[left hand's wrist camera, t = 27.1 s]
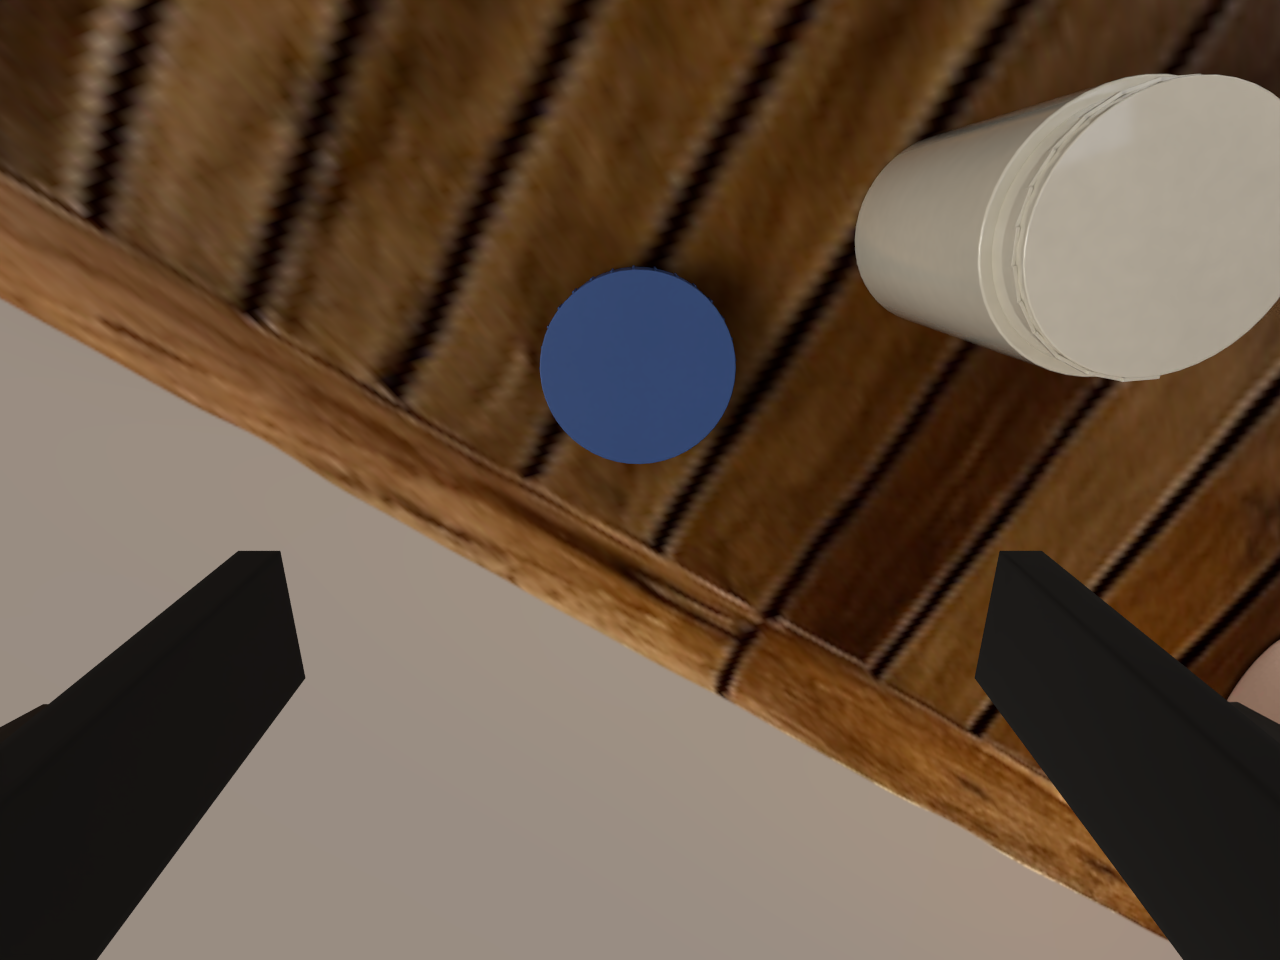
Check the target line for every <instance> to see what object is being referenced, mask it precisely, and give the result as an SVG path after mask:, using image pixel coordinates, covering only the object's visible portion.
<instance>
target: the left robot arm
mask: <svg viewBox="0 0 1280 960" xmlns="http://www.w3.org/2000/svg"><path fill="white" fill-rule="evenodd" d="M304 679H305V674H304V669H303V664H302V659H301V654H300V649H299V644H298V638H297V634H296V628H295V623H294V618H293V613H292V608H291V603H290V598H289V593H288V588H287V583H286V578H285V573H284V567H283V562H282V557H281V552H280V551H238V552H236V553H235V554H234V555H233V556H231V557H230V558H229V559H228V560H227V561H225V562H224V563H223V564H222V565H220V566H219V567H218V568H217V569H215V570H214V571H213V572H212V573H210V574H209V575H208V576H207V577H205V578H204V579H203V580H202V581H201V582H199V583H198V584H197V585H196V586H194V587H193V588H192V589H191V590H189V591H188V592H187V593H186V594H185V595H183V596H182V597H181V598H179V599H178V600H177V601H176V602H175V603H173V604H172V605H171V606H170V607H168V608H167V609H166V610H165V611H163V612H162V613H161V614H160V615H158V616H157V617H156V618H155V619H154V620H152V621H151V622H150V623H149V624H147V625H146V626H145V627H144V628H142V629H141V630H140V631H139V632H137V633H136V634H135V635H134V636H132V637H131V638H130V639H129V640H128V641H126V642H125V643H124V644H123V645H121V646H120V647H119V648H118V649H116V650H115V651H114V652H113V653H111V654H110V655H109V656H108V657H107V658H105V659H104V660H103V661H102V662H100V663H99V664H98V665H97V666H95V667H94V668H93V669H92V670H90V671H89V672H88V673H87V674H86V675H84V676H83V677H82V678H81V679H79V680H78V681H77V682H76V683H74V684H73V685H72V686H71V687H69V688H68V689H67V690H66V691H65V692H63V693H62V694H61V695H60V696H58V697H57V698H56V699H55V700H53V701H52V702H51V703H50V704H43V705H41V706H39V707H37V708H35V709H34V710H32V711H30V712H28V713H26V714H24V715H22V716H20V717H19V718H17V719H15V720H13V721H11V722H9V723H7V724H6V725H4V726H2V727H0V960H97V959H98V957H99V956H100V955H101V953H102V952H103V951H104V949H105V948H106V947H107V945H108V944H109V942H110V941H111V940H112V938H113V937H114V936H115V934H116V933H117V932H118V930H119V929H120V928H121V926H122V925H123V924H124V922H125V921H126V920H127V918H128V917H129V915H130V914H131V913H132V911H133V910H134V909H135V907H136V906H137V905H138V903H139V902H140V901H141V899H142V898H143V897H144V895H145V894H146V893H147V891H148V890H149V888H150V887H151V886H152V884H153V883H154V882H155V880H156V879H157V878H158V876H159V875H160V874H161V872H162V871H163V870H164V868H165V867H166V866H167V864H168V863H169V861H170V860H171V859H172V857H173V856H174V855H175V853H176V852H177V851H178V849H179V848H180V847H181V845H182V844H183V843H184V841H185V840H186V839H187V837H188V836H189V834H190V833H191V832H192V830H193V829H194V828H195V826H196V825H197V824H198V822H199V821H200V820H201V818H202V817H203V815H204V814H205V813H206V812H207V810H208V809H209V807H210V806H211V805H212V803H213V802H214V801H215V799H216V798H217V797H218V795H219V794H220V793H221V791H222V790H223V789H224V787H225V786H226V784H227V783H228V782H229V780H230V779H231V778H232V776H233V775H234V774H235V772H236V771H237V770H238V768H239V767H240V766H241V764H242V763H243V762H244V760H245V759H246V757H247V756H248V755H249V753H250V752H251V751H252V749H253V748H254V747H255V745H256V744H257V743H258V741H259V740H260V739H261V737H262V736H263V735H264V733H265V732H266V730H267V729H268V728H269V726H270V725H271V724H272V722H273V721H274V720H275V718H276V717H277V716H278V714H279V713H280V712H281V710H282V709H283V708H284V706H285V705H286V703H287V702H288V701H289V699H290V698H291V697H292V695H293V694H294V693H295V691H296V690H297V689H298V687H299V686H300V685H301V683H302V682H303V680H304ZM975 679H976V681H977V682H978V683H979V685H980V686H981V687H982V689H983V690H984V691H985V693H986V694H987V695H988V697H989V698H990V699H991V701H992V702H993V703H994V705H995V706H996V708H997V709H998V710H999V712H1000V713H1001V714H1002V716H1003V717H1004V718H1005V720H1006V721H1007V722H1008V724H1009V725H1010V726H1011V728H1012V729H1013V730H1014V732H1015V733H1016V735H1017V736H1018V737H1019V739H1020V740H1021V741H1022V743H1023V744H1024V745H1025V747H1026V748H1027V749H1028V751H1029V752H1030V753H1031V755H1032V756H1033V757H1034V759H1035V760H1036V762H1037V763H1038V764H1039V766H1040V767H1041V768H1042V770H1043V771H1044V772H1045V774H1046V775H1047V776H1048V778H1049V779H1050V780H1051V782H1052V783H1053V785H1054V786H1055V787H1056V789H1057V790H1058V791H1059V793H1060V794H1061V795H1062V797H1063V798H1064V799H1065V801H1066V802H1067V803H1068V805H1069V806H1070V807H1071V809H1072V810H1073V812H1074V813H1075V814H1076V816H1077V817H1078V818H1079V820H1080V821H1081V822H1082V824H1083V825H1084V826H1085V828H1086V829H1087V830H1088V832H1089V833H1090V834H1091V836H1092V837H1093V839H1094V840H1095V841H1096V843H1097V844H1098V845H1099V847H1100V848H1101V849H1102V851H1103V852H1104V853H1105V855H1106V856H1107V857H1108V859H1109V860H1110V861H1111V863H1112V864H1113V866H1114V867H1115V868H1116V870H1117V871H1118V872H1119V874H1120V875H1121V876H1122V878H1123V879H1124V880H1125V882H1126V883H1127V884H1128V886H1129V887H1130V888H1131V890H1132V891H1133V893H1134V894H1135V895H1136V897H1137V898H1138V899H1139V901H1140V902H1141V903H1142V905H1143V906H1144V907H1145V909H1146V910H1147V911H1148V913H1149V914H1150V916H1151V917H1152V918H1153V920H1154V921H1155V922H1156V924H1157V925H1158V926H1159V928H1160V929H1161V930H1162V932H1163V933H1164V934H1165V936H1166V937H1167V938H1168V940H1169V941H1170V943H1171V944H1172V945H1173V947H1174V948H1175V949H1176V951H1177V952H1178V953H1179V955H1180V956H1181V957H1182V959H1183V960H1280V724H1278V723H1276V722H1275V721H1273V720H1271V719H1269V718H1267V717H1265V716H1263V715H1261V714H1260V713H1258V712H1256V711H1254V710H1252V709H1250V708H1248V707H1246V706H1244V705H1243V704H1241V703H1239V702H1228V701H1227V700H1225V699H1224V698H1223V697H1222V696H1220V695H1219V694H1218V693H1217V692H1216V691H1214V690H1213V689H1212V688H1211V687H1209V686H1208V685H1207V684H1206V683H1204V682H1203V681H1202V680H1201V679H1199V678H1198V677H1197V676H1196V675H1194V674H1193V673H1192V672H1191V671H1190V670H1188V669H1187V668H1186V667H1185V666H1183V665H1182V664H1181V663H1180V662H1178V661H1177V660H1176V659H1175V658H1173V657H1172V656H1171V655H1170V654H1169V653H1167V652H1166V651H1165V650H1164V649H1162V648H1161V647H1160V646H1159V645H1157V644H1156V643H1155V642H1154V641H1152V640H1151V639H1150V638H1149V637H1148V636H1146V635H1145V634H1144V633H1143V632H1141V631H1140V630H1139V629H1138V628H1136V627H1135V626H1134V625H1133V624H1131V623H1130V622H1129V621H1128V620H1126V619H1125V618H1124V617H1123V616H1122V615H1120V614H1119V613H1118V612H1117V611H1115V610H1114V609H1113V608H1112V607H1110V606H1109V605H1108V604H1107V603H1105V602H1104V601H1103V600H1102V599H1101V598H1099V597H1098V596H1097V595H1096V594H1094V593H1093V592H1092V591H1091V590H1089V589H1088V588H1087V587H1086V586H1084V585H1083V584H1082V583H1081V582H1079V581H1078V580H1077V579H1076V578H1075V577H1073V576H1072V575H1071V574H1070V573H1068V572H1067V571H1066V570H1065V569H1063V568H1062V567H1061V566H1060V565H1058V564H1057V563H1056V562H1055V561H1054V560H1052V559H1051V558H1050V557H1049V556H1047V555H1046V554H1045V553H1044V552H1042V551H1000V552H999V557H998V562H997V567H996V573H995V578H994V583H993V588H992V593H991V598H990V603H989V608H988V613H987V618H986V623H985V628H984V633H983V638H982V643H981V649H980V654H979V659H978V664H977V669H976V674H975Z"/></svg>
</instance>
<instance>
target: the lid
mask: <svg viewBox="0 0 1280 960" xmlns="http://www.w3.org/2000/svg"><path fill="white" fill-rule="evenodd" d="M696 287H697V286H696V285H695V284H694V283H692V284H691V283H689V282H688V281H686V280H685V279H683V278H681V277H679V276H678V275H677V274H676V273H674V274H673V273H670V272H667V271H664V270H660V269H656V267H654V268H649V267H635V265H633V266H632V267H628V268H620V269H616V270H614V268H613V269H611V271H609V272H606V273H604V274H601V275H599V276H597V277H595V278H594V276H593V277H592V278H591V279H590V280H589V281H588V282H586V283H585V284H584V285H582V286H581V287H580V288H578V289H577V288H576V289H575V290H574V291H573V292H572V293H573V294H572V295H571V296H570V297H569V298H568V299H567V300H566V301H565V302H564V303H563V304H561V305H560V306H559V307H558V308H557V309H558V311H557V312H556V314H555V316H554V317H553V319H552V321H551V323H550V324H549V325H548V326H547V328H548V329H547V332H546V334H545V337H544V341H543V345H542V346H541V348H542V349H541V357H540V376H541V383H542V388H543V392H544V395H545V399H546V401H547V404H548V406H549V408H550V410H551V412H552V414H553V416H554V417H555V419H556V421H557V422H558V423H559V425H560V426H561V427H562V428H563V430H564V431H565V432H566V433H567V434H568V435H569V436H570V437H571V438H572V439H573V440H574V441H576V442H577V443H578V444H580V445H581V446H582V447H584V448H585V449H587V450H589V451H590V452H592V453H594V454H596V455H599V456H601V457H603V458H606V459H609V460H613V461H616V462H622V463H630V464H645V463H654V462H659V461H663V460H667V459H670V458H672V457H675V456H678V455H680V454H682V453H684V452H686V451H687V450H689V449H690V448H692V447H694V446H695V445H697V444H698V443H699V442H700V441H701V440H703V439H704V438H705V437H706V436H707V435H708V434H709V433H710V432H711V431H712V429H713V428H714V427H715V426H716V424H717V423H718V422H719V420H720V419H721V417H722V415H723V414H724V412H725V410H726V408H727V406H728V403H729V400H730V398H731V395H732V391H733V387H734V382H735V372H736V363H735V361H736V358H735V352H734V346H733V342H732V340H733V338H732V337H731V336H730V333H729V330H728V328H727V326H726V324H725V322H724V320H725V319H724V317H723V316H722V315H721V314H720V313H719V312H718V310H717V309H716V307H715V306H714V305H713V304H712V302H713V301H712V300H711V299H710V298H709V297H708V298H707V297H706V296H705V295H704V294H703V293H702V292H701V291H700V290H698V289H697V288H696Z"/></svg>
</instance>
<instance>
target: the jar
mask: <svg viewBox="0 0 1280 960" xmlns="http://www.w3.org/2000/svg"><path fill="white" fill-rule="evenodd" d="M855 253H856V259H857V264H858V268H859V271H860V274H861V277H862V279H863V281H864V283H865V285H866V287H867V288H868V290H869V291H870V293H871V295H872V296H873V297H874V298H875V299H876V300H877V301H878V302H879V303H880V304H881V305H882V306H883V307H884V308H885V309H887V310H888V311H890V312H891V313H893V314H895V315H896V316H898V317H901V318H903V319H905V320H908V321H911V322H914V323H917V324H919V325H922V326H925V327H928V328H931V329H934V330H936V331H939V332H942V333H945V334H948V335H951V336H953V337H956V338H959V339H962V340H965V341H968V342H970V343H973V344H976V345H979V346H982V347H985V348H988V349H990V350H993V351H996V352H999V353H1002V354H1005V355H1007V356H1010V357H1013V358H1016V359H1019V360H1022V361H1024V362H1027V363H1030V364H1033V365H1036V366H1039V367H1041V368H1044V369H1047V370H1050V371H1054V372H1058V373H1061V374H1065V375H1072V376H1080V377H1102V378H1108V379H1113V380H1118V381H1122V382H1126V381H1138V380H1149V379H1159V378H1160V375H1164V374H1167V373H1171V372H1175V371H1179V370H1182V369H1184V368H1187V367H1190V366H1192V365H1195V364H1198V363H1200V362H1202V361H1204V360H1206V359H1208V358H1210V357H1212V356H1214V355H1215V354H1217V353H1219V352H1220V351H1222V350H1223V349H1225V348H1226V347H1228V346H1229V345H1231V344H1233V343H1234V342H1235V341H1236V340H1238V339H1239V338H1240V337H1241V336H1243V335H1244V334H1245V333H1246V332H1248V331H1249V330H1250V329H1251V328H1252V327H1253V326H1254V325H1255V324H1256V323H1257V322H1258V321H1259V320H1260V319H1261V318H1262V317H1264V315H1265V314H1266V313H1267V312H1268V311H1269V310H1270V308H1271V307H1272V306H1273V305H1274V304H1275V303H1276V301H1277V300H1278V299H1279V297H1280V99H1279V98H1278V97H1277V96H1275V95H1274V94H1273V93H1271V92H1270V91H1268V90H1266V89H1264V88H1262V87H1260V86H1258V85H1257V84H1255V83H1252V82H1249V81H1246V80H1243V79H1239V78H1236V77H1230V76H1223V75H1201V74H1192V75H1180V76H1179V75H1172V74H1143V75H1136V76H1130V77H1125V78H1121V79H1118V80H1115V81H1111V82H1108V83H1105V84H1101V85H1098V86H1095V87H1091V88H1088V89H1085V90H1082V91H1078V92H1075V93H1072V94H1069V95H1065V96H1062V97H1059V98H1056V99H1052V100H1049V101H1046V102H1043V103H1039V104H1036V105H1033V106H1030V107H1026V108H1023V109H1020V110H1017V111H1013V112H1010V113H1007V114H1004V115H1000V116H997V117H994V118H990V119H987V120H984V121H981V122H977V123H974V124H971V125H968V126H964V127H961V128H958V129H955V130H951V131H948V132H945V133H942V134H938V135H935V136H932V137H929V138H926V139H924V140H922V141H919V142H917V143H915V144H914V145H912V146H910V147H909V148H907V149H905V150H904V151H903V152H901V153H900V154H899V155H898V156H896V157H895V158H894V159H893V160H892V161H891V162H890V163H889V164H888V165H887V166H886V167H885V168H884V169H883V170H882V171H881V173H880V174H879V175H878V176H877V178H876V179H875V181H874V182H873V184H872V185H871V187H870V189H869V190H868V193H867V195H866V197H865V199H864V201H863V203H862V206H861V209H860V212H859V216H858V220H857V225H856V233H855Z"/></svg>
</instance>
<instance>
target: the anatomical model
mask: <svg viewBox="0 0 1280 960" xmlns="http://www.w3.org/2000/svg"><path fill="white" fill-rule="evenodd" d="M1227 701H1228V702H1239V703H1241V704H1243V705H1244V706H1246V707H1248V708H1250V709H1252V710H1254V711H1256V712H1258V713H1260V714H1261V715H1263V716H1265V717H1267V718H1269V719H1271V720H1273V721H1275V722H1276V723H1278V724H1280V640H1278V641H1277V642H1275V643H1274V644H1273V645H1271V646H1270V647H1269V648H1268V649H1267V650H1266V651H1265V652H1264V653H1263V654H1262V655H1261V656H1260V657H1259V658H1258V659H1257V660H1256V661H1255V662H1254V663H1253V664H1252V665H1251V667H1250V668H1249V669H1248V670H1247V671H1246V673H1245V674H1244V675H1243V677H1242V678H1241V679H1240V681H1239V682H1238V684H1237V685H1236V687H1235V688H1234V690H1233V691H1232V693H1231V694H1230V696H1229V697H1228V699H1227Z"/></svg>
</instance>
